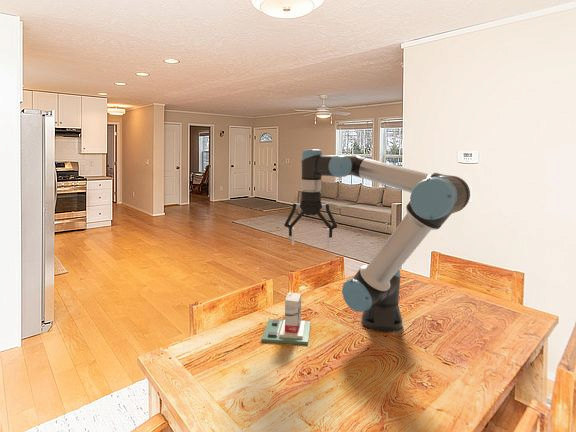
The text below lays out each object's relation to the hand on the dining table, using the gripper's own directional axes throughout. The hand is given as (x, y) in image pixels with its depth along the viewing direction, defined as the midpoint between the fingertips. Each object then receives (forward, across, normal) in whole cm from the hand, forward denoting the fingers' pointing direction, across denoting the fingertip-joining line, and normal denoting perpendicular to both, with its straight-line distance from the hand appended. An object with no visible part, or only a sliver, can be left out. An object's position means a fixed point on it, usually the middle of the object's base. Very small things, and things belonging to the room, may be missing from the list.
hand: (310, 245), depth 148 cm
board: (+29, +7, +16) cm, 34 cm away
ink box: (+27, +5, +16) cm, 32 cm away
